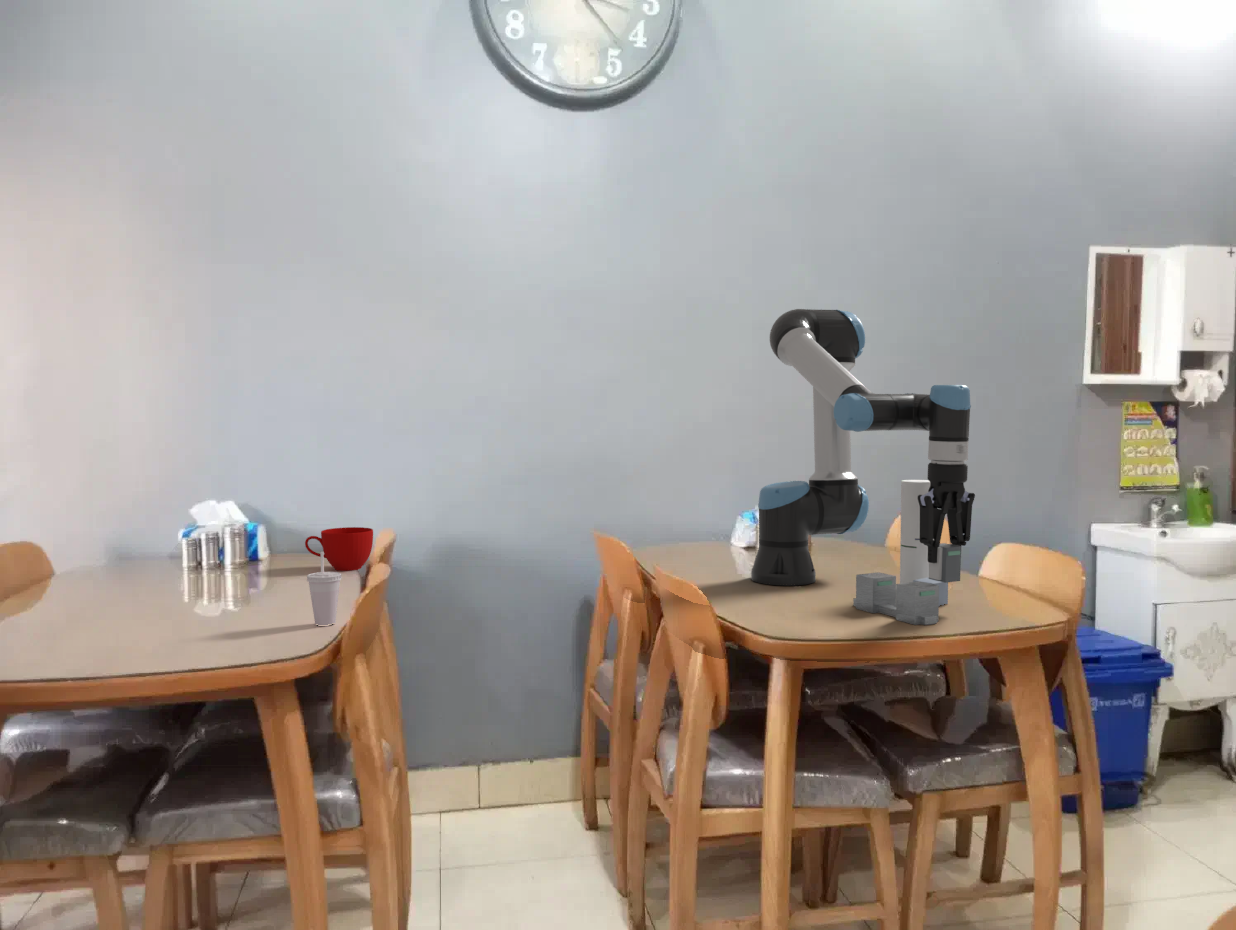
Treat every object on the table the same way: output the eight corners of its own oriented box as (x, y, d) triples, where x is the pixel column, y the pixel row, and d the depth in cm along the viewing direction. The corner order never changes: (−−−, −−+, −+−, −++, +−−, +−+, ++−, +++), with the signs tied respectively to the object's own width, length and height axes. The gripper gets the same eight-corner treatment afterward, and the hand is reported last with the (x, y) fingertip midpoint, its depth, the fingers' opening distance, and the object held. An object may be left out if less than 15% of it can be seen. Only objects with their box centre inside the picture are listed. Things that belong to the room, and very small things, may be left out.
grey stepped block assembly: (847, 606, 194) (848, 572, 193) (870, 603, 196) (870, 570, 196) (918, 626, 176) (919, 589, 175) (942, 622, 178) (942, 586, 178)
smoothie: (330, 619, 184) (328, 548, 183) (349, 623, 180) (347, 551, 179) (301, 624, 179) (299, 552, 178) (320, 629, 175) (318, 555, 174)
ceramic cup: (306, 566, 245) (305, 529, 245) (372, 563, 250) (371, 526, 250) (305, 575, 233) (304, 535, 232) (375, 571, 238) (374, 532, 237)
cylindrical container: (935, 597, 202) (937, 482, 200) (901, 596, 203) (902, 482, 202) (931, 591, 209) (933, 479, 207) (898, 590, 210) (899, 479, 209)
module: (928, 578, 189) (929, 544, 189) (943, 576, 191) (943, 543, 191) (946, 582, 185) (947, 547, 185) (960, 581, 187) (961, 546, 187)
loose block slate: (912, 603, 196) (913, 580, 196) (927, 600, 199) (927, 577, 199) (933, 607, 192) (933, 583, 192) (947, 604, 195) (948, 580, 195)
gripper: (930, 465, 179) (926, 585, 181) (993, 462, 187) (988, 577, 189) (901, 462, 186) (898, 577, 188) (964, 459, 194) (960, 570, 196)
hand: (943, 577), depth 188 cm, fingers closed on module, 4 cm apart
